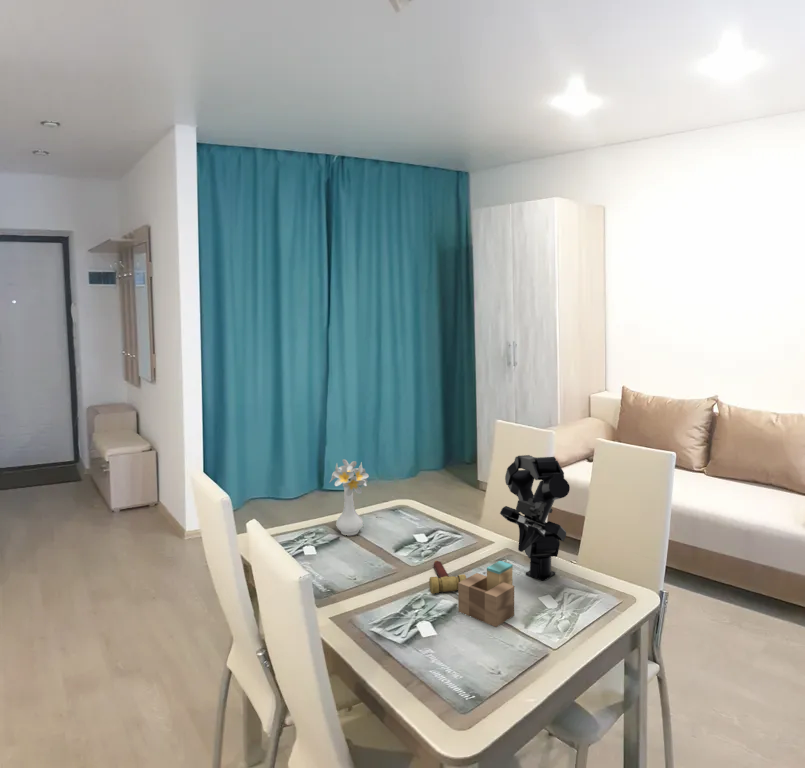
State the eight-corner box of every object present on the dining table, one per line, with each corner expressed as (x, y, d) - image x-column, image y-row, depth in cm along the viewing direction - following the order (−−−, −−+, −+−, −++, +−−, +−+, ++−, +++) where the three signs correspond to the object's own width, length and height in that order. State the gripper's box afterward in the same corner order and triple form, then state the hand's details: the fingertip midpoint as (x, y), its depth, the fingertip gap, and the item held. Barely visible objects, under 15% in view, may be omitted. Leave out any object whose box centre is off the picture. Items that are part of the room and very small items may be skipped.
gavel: (419, 555, 204) (451, 553, 205) (419, 570, 204) (451, 567, 206) (431, 580, 183) (467, 577, 185) (432, 596, 184) (467, 593, 185)
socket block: (476, 600, 180) (476, 572, 179) (514, 615, 172) (514, 586, 171) (458, 611, 174) (458, 582, 173) (496, 627, 166) (496, 596, 165)
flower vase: (343, 545, 220) (341, 472, 217) (324, 528, 237) (322, 459, 233) (379, 538, 226) (378, 466, 222) (358, 521, 242) (356, 454, 239)
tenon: (499, 598, 181) (500, 560, 179) (512, 603, 178) (512, 564, 177) (486, 606, 177) (486, 567, 175) (499, 611, 174) (499, 571, 172)
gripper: (503, 479, 188) (479, 529, 183) (561, 498, 175) (537, 552, 170) (519, 495, 195) (497, 543, 191) (576, 514, 182) (553, 566, 178)
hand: (520, 551), depth 182 cm, fingers closed
